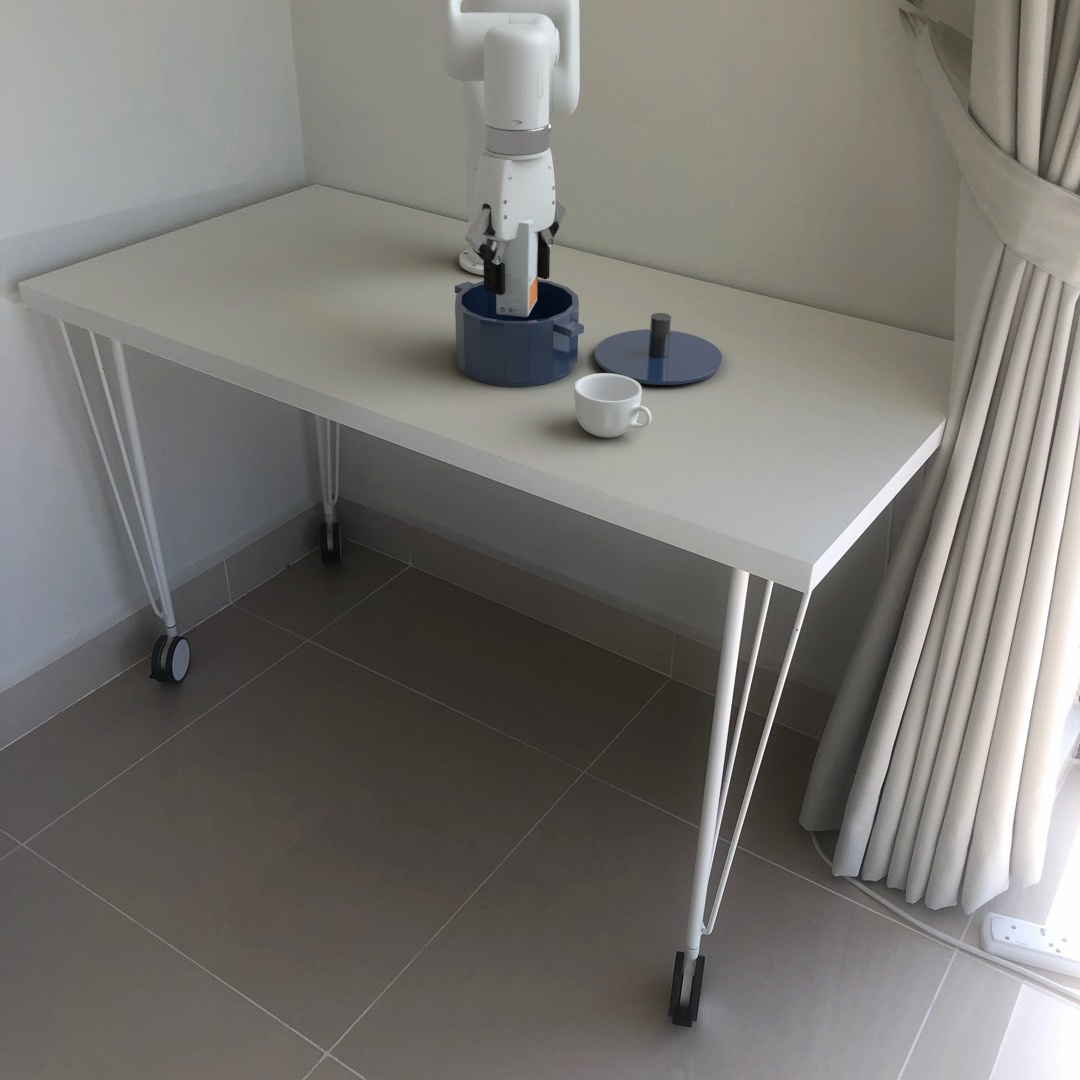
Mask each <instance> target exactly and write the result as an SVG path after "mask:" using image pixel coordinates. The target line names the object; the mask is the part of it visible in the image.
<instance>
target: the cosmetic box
mask: <svg viewBox="0 0 1080 1080" xmlns="http://www.w3.org/2000/svg"><path fill="white" fill-rule="evenodd" d="M496 244H497V242H496ZM501 263H504V264H505V293H504V294H503V295H498V294H496V314H498V315H507V316H518V317H528V316H529V313H530V312H531V310H532V308H533V306H534V305H535V303H536V302H537V279H538V277H537V274H538V232H537V233H534V228H533V220H527V221H523V222H520V223H519V225H518V230H517V235H516V238H515V239H514V240H511V241H508V242H507V245H506V248H505V251H504V254H503V257H502V260H501Z"/></svg>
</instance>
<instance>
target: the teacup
mask: <svg viewBox="0 0 1080 1080" xmlns="http://www.w3.org/2000/svg"><path fill="white" fill-rule="evenodd" d="M573 393H574V408H575V414H576V419H577V421H578V424H579V425H580V426H581V428H582V429H583V430H584V431H586V432H587V433H589V434H590V435H592V436H595V437H597V438H605V439H608V438H611V439H612V438H616V437H619V436H622V435H625V434H626V433H628V432H629V431H630V430H631V429H638V430H639V429H644V428H647V427H648V426H650V425H651V423H652V420H653V419H652V418H653V417H652V412H651V411H650V409H649V408H647V406H644V405H641V403H642V396H643V395H642V394H643V387H642V385H641V383H638V382H637V381H635V380H633V379H631V378H629V377H626V376H623V375H618V374H610V373H608V372H603V373H601V372H600V373H592V374H588V375H584V376H583V377H580V378H578V379H577V380H576V381H575V382H574V389H573ZM640 412H644V414H645V415H646V421H645V423H638V422H637V420H638V419H639V415H640Z"/></svg>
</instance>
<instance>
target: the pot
mask: <svg viewBox="0 0 1080 1080" xmlns="http://www.w3.org/2000/svg"><path fill="white" fill-rule="evenodd" d="M454 293H455V294H456V295H455V299H454V300H455V301H454V315H455V316H454V318H455V347H456V348H455V350H456V352H455V353H456V364H457V366H458V368H459V370H460V371H461V372H462V373H463V375H466V376H467V377H468V378H471V379H472V380H475V381H478V382H481V383H483V384H487V385H492V386H498V387H508V388H526V387H527V388H528V387H536V386H543V385H547V384H551V383H554V382H557V381H560V380H562V379H564V378H566V377H567V376H569V375H570V374H572V373H573V372H574V370H575V369H576V367H577V365H578V354H579V353H578V351H579V350H578V349H579V335H581V334H584V333H585V324H582V323H579V319H580V318H579V317H580V316H579V315H580V308H579V307H580V301H579V295H578V294H577V293H575V292H574V290H572V289H571V288H570V287H568V286H565V285H563V284H560V283H557V282H555V281H552V280H547V279H541V278H540V279H539V278H537V302H536V303H535V305H534V306H533V308H532V310H531V312H530V313H529V316H528V317H518V316H507V315H498V314H496V294H495V293H492V292H490V291H487V290H485V289H484V280H481V281H479V282H476V283H473V282H471V281H468V280H467V281H465V282H461V283H458V284H456V285H454Z"/></svg>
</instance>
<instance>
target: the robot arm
mask: <svg viewBox="0 0 1080 1080" xmlns="http://www.w3.org/2000/svg"><path fill="white" fill-rule="evenodd" d="M463 2H464V0H437V24H438V27H437V28H438V44H439V45H438V46H439V47H438V48H439V57H440V62H441V65H442V68H443V70H444V71H445V73H446V74H447V75H448V76H449V77H451V79H453V80H456V81H458V88H459V89H458V90H459V95H460V101H461V107H462V114H463V122H464V129H465V130H464V131H465V132H464V133H465V145H466V147H465V148H466V151H465V153H466V179H467V181H466V182H467V183H466V184H467V185H466V186H467V221H468V223H467V224H468V226H467V227H468V228H467V232H466V233H465V236H464V239H465V241H466V242H467V244H468V248H467V249H466V248H465V250H463V251H462V252H461V253H460V254H459V256H458V260H459V261H458V264H459V266H460V267H461V268H462V269H463V270H465V271H467V272H468V273H471V274H475V275H477V276H478V275H479V276H482V277H483V281H484V289H485V290H487V291H490V292H492V293H495V294H498V295H503V294H504V293H505V264H504V263H501V260H502V257H503V254H504V251H505V248H506V245H507V242H508V241H511V240H514V239H515V238H516V235H517V230H518V225H519V223H520V222H523V221H527V220H533V228H534V233H537V232H538V274H537V278H538V279H539V278H540V279H541V280H547V279H549V278H550V273H551V271H550V269H551V268H550V267H551V264H550V263H551V262H550V261H551V248H552V247H554V243H555V240H554V238H555V236H556V234H557V232H558V231H559V229H560V224H561V222H562V220H563V218H564V216H565V214H566V210H567V209H566V207H565V206H564V205H563V204H561V203H560V202H559V201H558V200H557V199H556V181H555V169H554V162H553V155H552V150H551V148H550V147H549V143H550V133H551V131H552V126H551V123H550V119H560V118H566V117H569V116H571V115H572V114H574V112H575V111H576V109H577V107H578V105H579V99H580V93H581V92H580V89H581V50H580V49H581V48H580V47H581V46H580V45H581V43H580V42H581V41H580V39H581V37H580V35H581V33H580V32H581V30H580V28H581V26H580V24H581V23H580V19H581V18H580V15H581V14H580V0H466V12H462V11H461V6H462V3H463ZM496 242H497V244H496Z"/></svg>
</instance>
